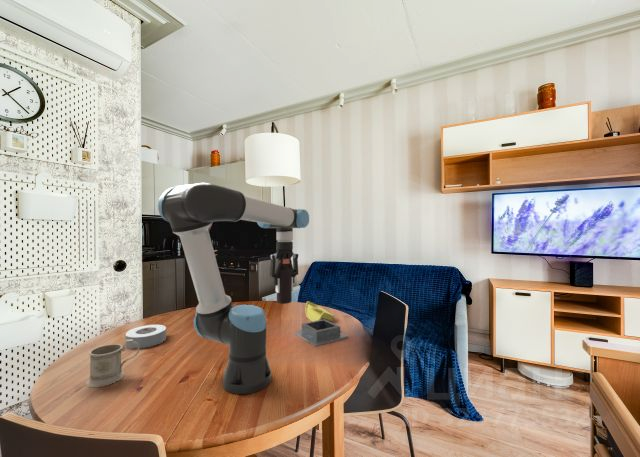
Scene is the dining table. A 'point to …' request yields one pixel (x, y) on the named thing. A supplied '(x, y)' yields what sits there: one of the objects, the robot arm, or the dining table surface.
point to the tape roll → (146, 336)
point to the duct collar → (320, 332)
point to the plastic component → (317, 312)
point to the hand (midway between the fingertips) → (284, 291)
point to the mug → (107, 364)
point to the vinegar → (285, 283)
